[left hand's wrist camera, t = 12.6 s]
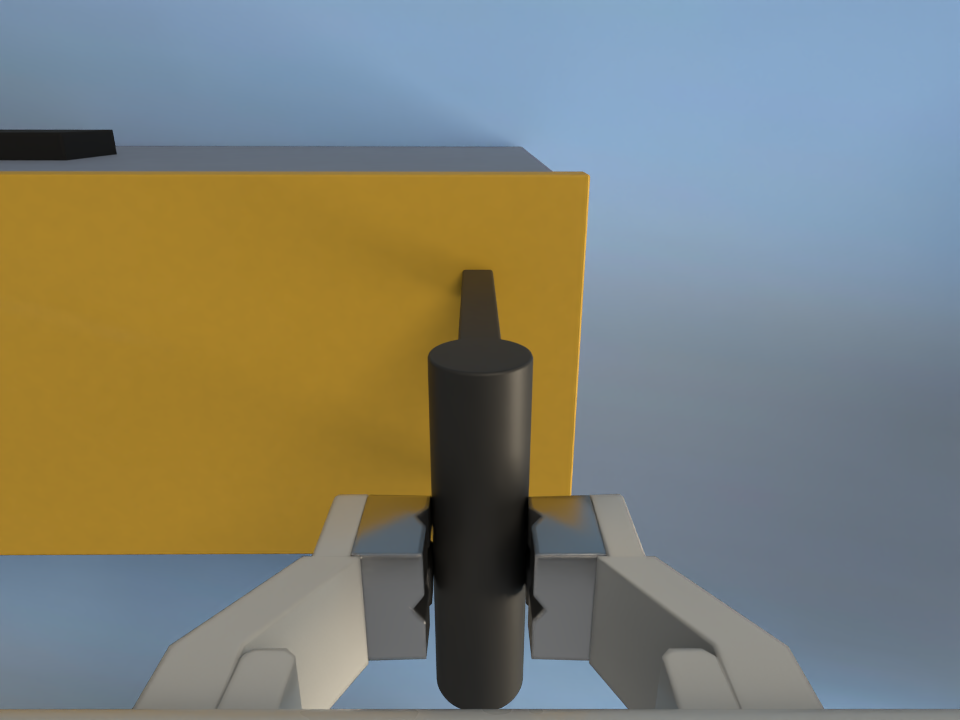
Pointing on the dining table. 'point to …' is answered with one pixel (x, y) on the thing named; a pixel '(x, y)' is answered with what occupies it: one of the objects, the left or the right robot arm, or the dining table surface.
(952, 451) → the dining table surface
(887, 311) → the dining table surface
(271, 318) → the lid
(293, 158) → the chest
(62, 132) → the right robot arm
